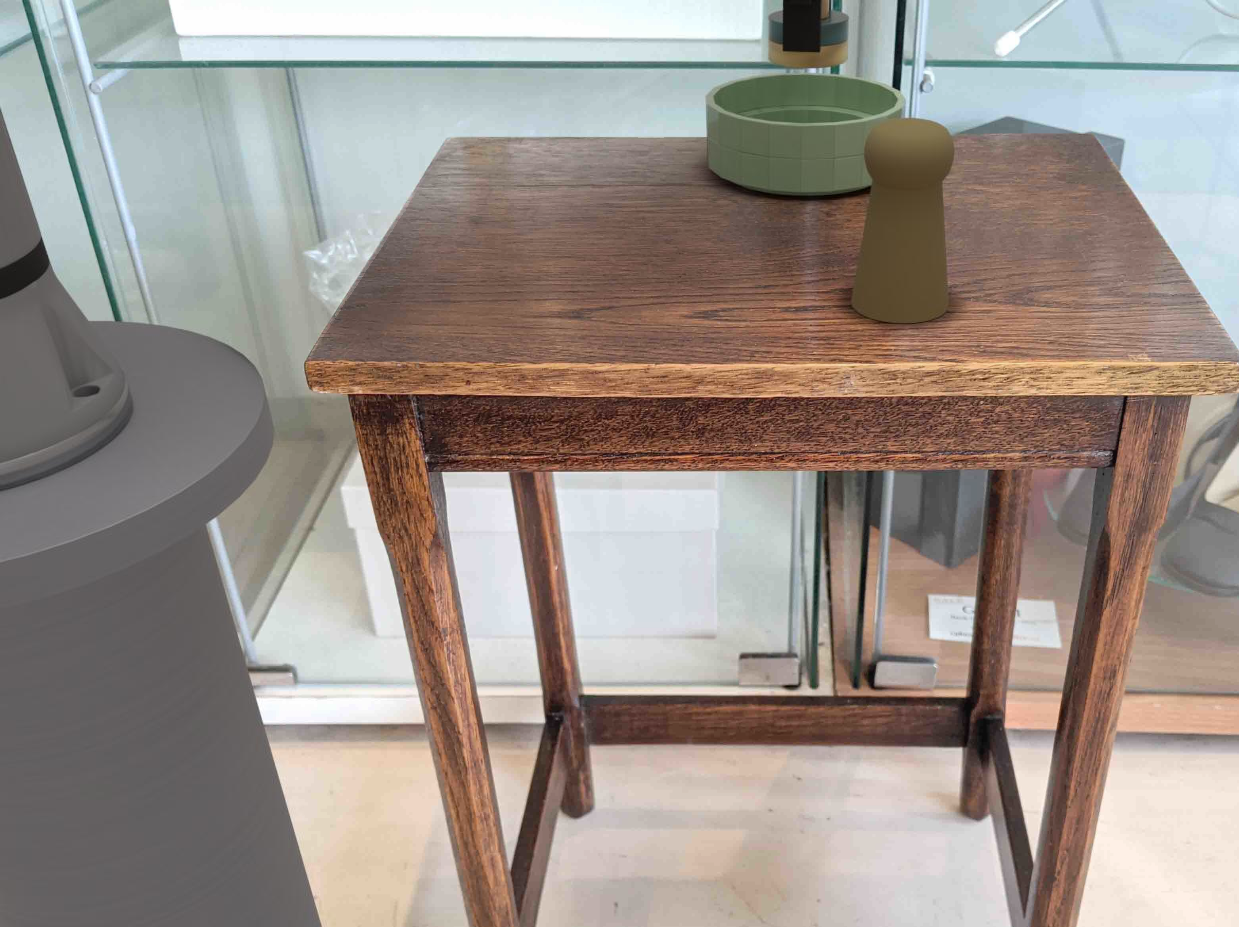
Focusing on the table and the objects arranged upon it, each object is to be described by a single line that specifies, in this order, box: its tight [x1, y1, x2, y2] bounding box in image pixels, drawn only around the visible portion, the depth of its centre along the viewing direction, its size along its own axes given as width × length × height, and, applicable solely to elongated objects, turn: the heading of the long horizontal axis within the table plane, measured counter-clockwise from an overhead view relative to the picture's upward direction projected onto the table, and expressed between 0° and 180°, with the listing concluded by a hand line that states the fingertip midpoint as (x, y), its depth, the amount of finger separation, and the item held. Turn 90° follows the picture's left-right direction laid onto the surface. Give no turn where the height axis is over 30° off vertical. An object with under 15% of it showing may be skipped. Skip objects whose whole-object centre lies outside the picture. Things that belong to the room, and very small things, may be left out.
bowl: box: [705, 72, 907, 197], centre depth 101 cm, size 15×15×6 cm
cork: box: [850, 117, 956, 324], centre depth 77 cm, size 6×6×11 cm
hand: (807, 39), depth 97 cm, fingers closed on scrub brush, 6 cm apart
